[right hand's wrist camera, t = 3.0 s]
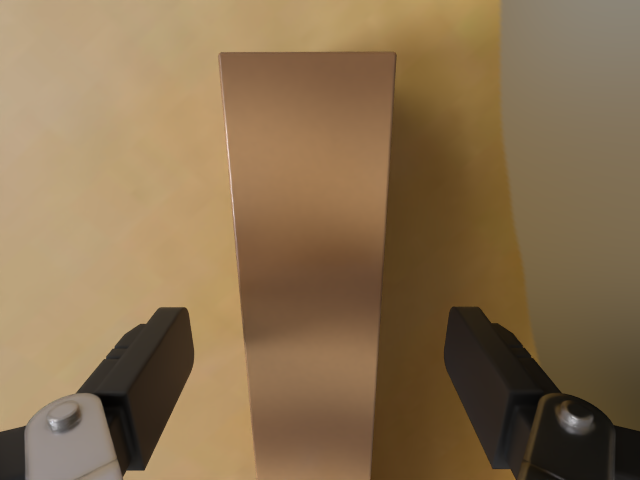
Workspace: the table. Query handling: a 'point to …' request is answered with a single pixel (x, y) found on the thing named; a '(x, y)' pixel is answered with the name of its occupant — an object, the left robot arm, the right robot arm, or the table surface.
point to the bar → (310, 250)
